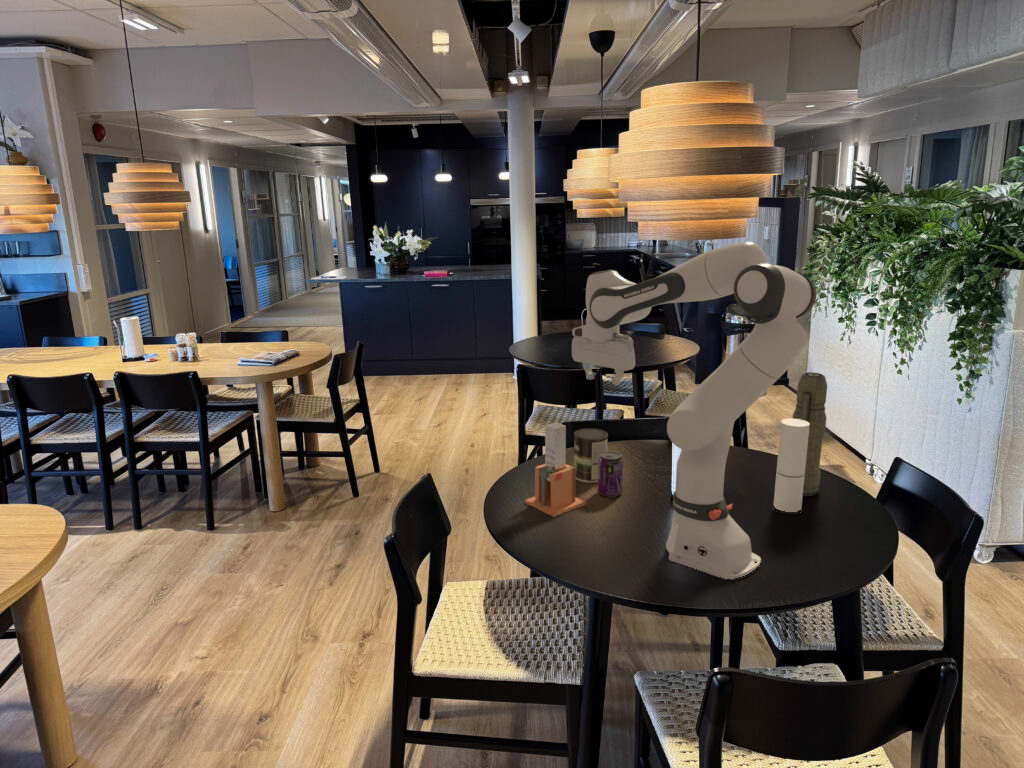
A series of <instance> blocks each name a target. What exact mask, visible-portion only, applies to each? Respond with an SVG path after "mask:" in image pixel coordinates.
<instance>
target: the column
mask: <svg viewBox="0 0 1024 768" xmlns="http://www.w3.org/2000/svg"><path fill="white" fill-rule="evenodd" d="M544 431H545V432H544V443H545V444H544V461H545V462H544V464H545V470H546V471H548V472H549V477H548V478H547V481H549V482H551V473H554V472H557V471H560V470H563V469H566V464H567V463H566V461H567V460H566V459H567V458H566V457H567V454H566V453H567V452H566V448H567V446H566V444H567V439H566V438H567V435H566V434H567V426H566V425H565V424H562V423H559V422H552V423H549V424H545V425H544Z"/></svg>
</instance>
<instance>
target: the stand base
mask: <svg viewBox="0 0 1024 768" xmlns="http://www.w3.org/2000/svg"><path fill="white" fill-rule="evenodd" d="M548 477H549V472H548V471H546V470H545V463H543V464H539V465H537V466H535V467H534V495H535V496H532V497H530V498H527V499H525V500H524V503H525V504H526V503H527V504H526V505H528V504H529V505H528V506H530V505H531V507H532V506H533V507H532V508H534V507H535V509H536V508H537V509H536V510H539V511H540V512H543V513H545V514H547V515H549V516H552V517H553V518H554V517H557V515H558V516H560V515H563V514H565V512H566V513H568V512H571V511H574V510H576V509H579V508H581V507H583V506H586V501H585V500H583V499H580V498H578V497H576V488H577V487H576V485H577V484H576V483H577V482H576V468H575V467H574V466H572V465H569V464H567V463H566V469H563V470H560V471H557V472H554V473H551V482H549V481H547V478H548Z"/></svg>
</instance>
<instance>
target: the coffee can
mask: <svg viewBox="0 0 1024 768" xmlns="http://www.w3.org/2000/svg"><path fill="white" fill-rule="evenodd" d="M573 436H574V437H573V438H574V439H573V440H574V441H573V442H574V443H573V445H574V449H573V450H574V451H573V467H575V468H576V480H577V481H579V482H583V483H588V484H589V483H590V484H593V483H596V482H597V483H598V460H599V458H600V454H601V453H602V452H607V451H608V438H609V433H608V432H607V431H605V430H603V429H599V428H591V427H590V428H588V427H587V428H580V429H577V430H575V431H574V432H573Z"/></svg>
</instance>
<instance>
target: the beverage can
mask: <svg viewBox="0 0 1024 768" xmlns="http://www.w3.org/2000/svg"><path fill="white" fill-rule="evenodd" d="M623 473H624V460H623V455H622V453H620V452H617V451H613V450H612V451H609V450H607V452H602V453H601V454H600V458H599V460H598V482H597V492H598V494H600V495H601V496H603V497H606V496H607V497H606V498H614V496H615V497H617V496H620V495H621V494H623V480H624V479H623V478H624V477H623V476H624V475H623Z"/></svg>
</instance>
